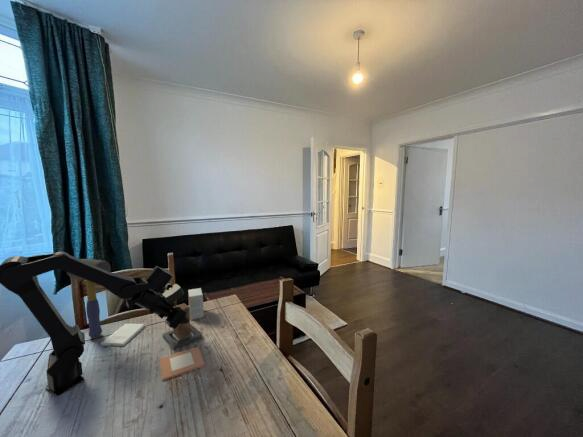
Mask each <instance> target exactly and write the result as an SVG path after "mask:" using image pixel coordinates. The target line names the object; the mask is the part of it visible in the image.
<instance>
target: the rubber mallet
mask: <svg viewBox="0 0 583 437" xmlns="http://www.w3.org/2000/svg"><path fill="white" fill-rule="evenodd" d="M79 259H80V260H82V261H85V262H87V263H89V264H92V265H94V266H96V267H99V268H101V269H103V270H106V271H108V272H111V271H112V270H111V268H112V267H111V265H110V263H109V262H108V261H105V260H99V259H95V258H93V259H92V258H79ZM66 274H67V275H68V277H70V278H72V279H77V280H83V281H85V284H86V294H87V295H86V296H87V297H86V298H87V301H86V318H87V321H88V328H89V330H88V337H90V338H91V339H97V338H100V337H101V335H102V333H103V330H102V329H103V328H102V326H101V320H100V315H101V314H100V313H101V312H100V311H101V309H100V304H99V301H98V299H97V291H96V283H94V282H91V281H89V280H86V279H84V278H81V277H79V276H76V275H73V274H71V273H68V272H66Z"/></svg>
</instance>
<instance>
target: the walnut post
mask: <svg viewBox="0 0 583 437" xmlns="http://www.w3.org/2000/svg"><path fill="white" fill-rule="evenodd" d="M178 306H179V307H181V308H182V309H184V310H185V311H186V312H187V313H186V315H185V317H186V318H187V319H188V320H189V322H188V323H184V324H179V325H178V326H177V328H176V329H173V330H174V334H172V337H171V338H172V339H173V340H174V341H175V342H176V343H177V342H179V341H182V340H184V339H186V338H188V337H191V336H193V334H192V333H191V332H190V324H191V320H190V308H189V305H187V304H186V303H185V302H183V303H181V304H177V305H174V308H175V307H178Z"/></svg>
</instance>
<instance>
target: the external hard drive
mask: <svg viewBox="0 0 583 437" xmlns="http://www.w3.org/2000/svg"><path fill="white" fill-rule="evenodd" d="M145 327H146V325H145V323H124V324H123V325H122V326H121V327H119V328H118V329H117V330H115V332H113V333H112V334H110V335H109V336H108V337H107V338H105V339H104V340H103V341H102V342H101V343H100V346H104V347H105V346H106V347H107V346H110V347H111V346H113V347H124V346H125V345H126V344H127V343H128V342H130V341H131V340H132V339H133V338H134V337H135V336H136V335H137V334H139V333H140V331H142V330H143V329H144V328H145Z"/></svg>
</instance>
